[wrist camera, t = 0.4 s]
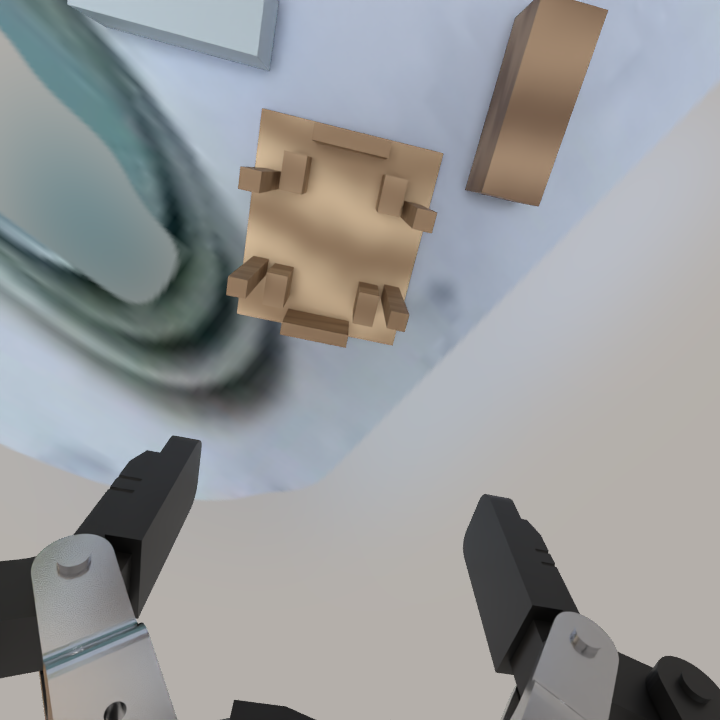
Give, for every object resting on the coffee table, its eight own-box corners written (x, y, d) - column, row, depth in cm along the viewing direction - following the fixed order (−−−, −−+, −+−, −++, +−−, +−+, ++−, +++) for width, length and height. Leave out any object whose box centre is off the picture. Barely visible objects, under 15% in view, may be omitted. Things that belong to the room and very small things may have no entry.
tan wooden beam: (514, 18, 30) (543, -9, 26) (570, 34, 31) (608, 10, 26) (464, 189, 34) (481, 192, 30) (514, 201, 35) (538, 206, 30)
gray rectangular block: (108, -46, 29) (66, -84, 25) (279, 2, 30) (267, -25, 26) (106, 27, 30) (67, 4, 26) (270, 71, 31) (257, 56, 27)
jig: (264, 110, 32) (235, 90, 24) (440, 153, 33) (467, 148, 25) (239, 310, 38) (209, 346, 30) (391, 341, 39) (400, 384, 31)
